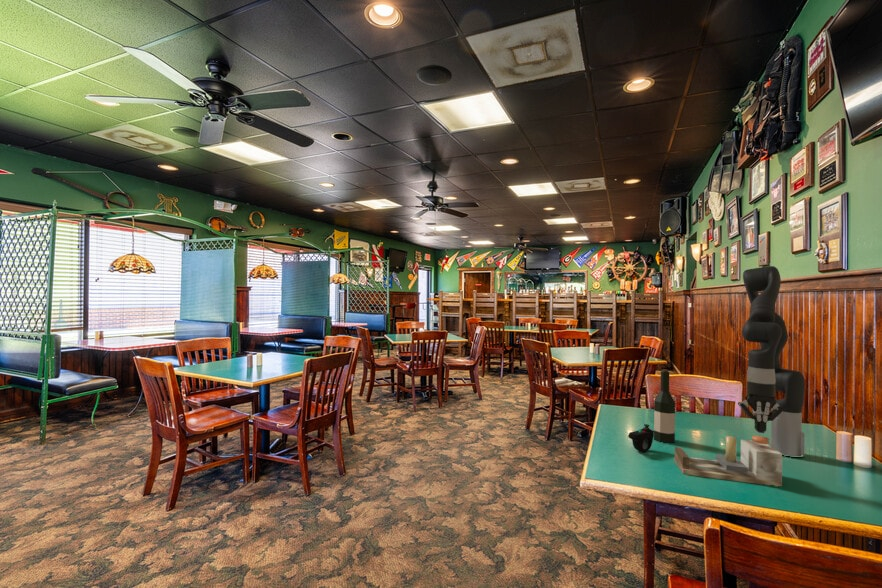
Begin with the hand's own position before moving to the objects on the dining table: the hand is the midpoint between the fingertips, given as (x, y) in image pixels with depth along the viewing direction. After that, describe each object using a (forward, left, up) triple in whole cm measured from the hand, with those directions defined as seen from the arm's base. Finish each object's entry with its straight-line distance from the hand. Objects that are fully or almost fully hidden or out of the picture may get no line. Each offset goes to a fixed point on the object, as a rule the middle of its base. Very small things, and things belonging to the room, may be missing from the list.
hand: (760, 432), depth 136 cm
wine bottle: (+22, -30, -16) cm, 40 cm away
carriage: (+8, 0, -12) cm, 15 cm away
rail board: (+10, 0, -15) cm, 18 cm away
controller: (+34, -12, -16) cm, 40 cm away
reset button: (0, 0, -3) cm, 3 cm away
